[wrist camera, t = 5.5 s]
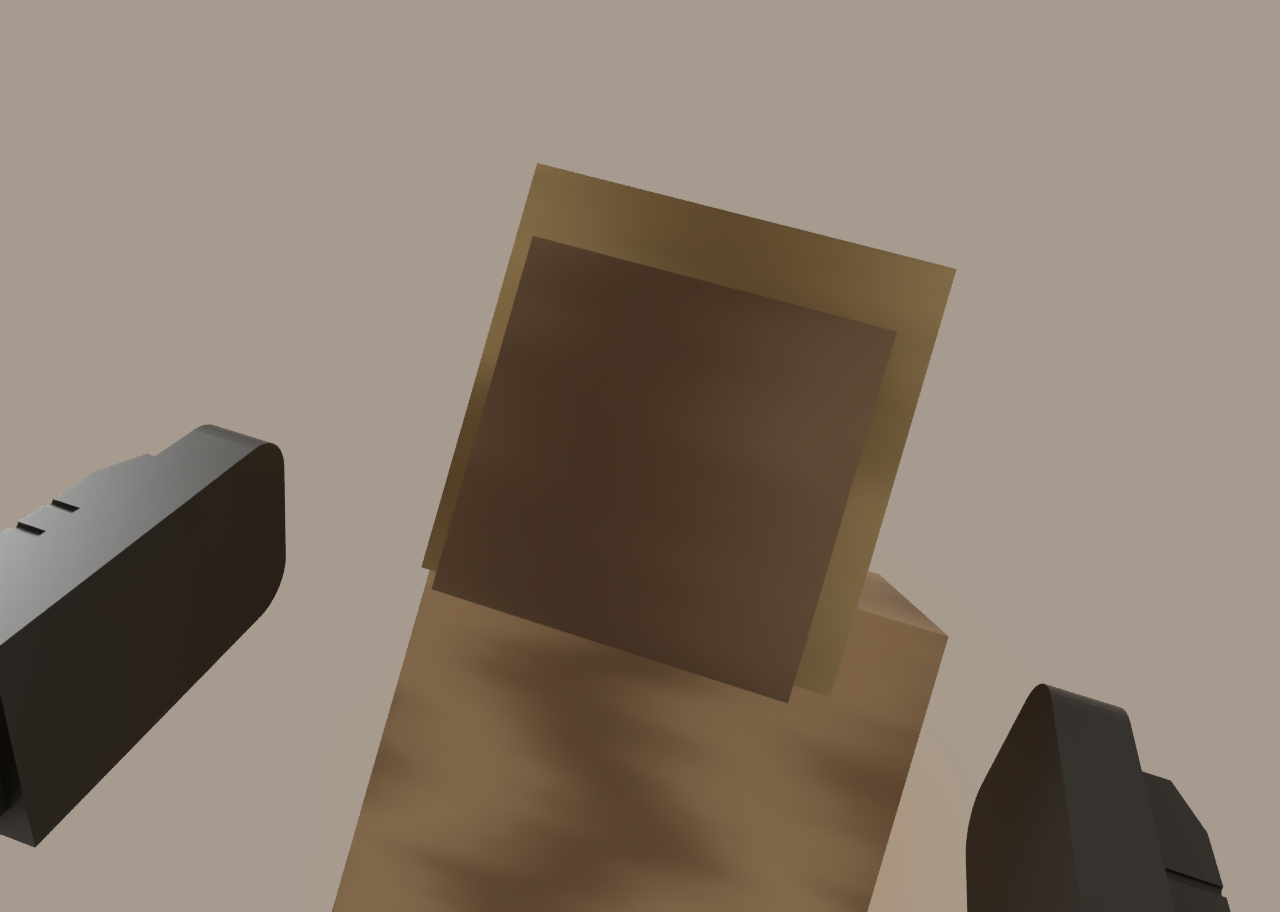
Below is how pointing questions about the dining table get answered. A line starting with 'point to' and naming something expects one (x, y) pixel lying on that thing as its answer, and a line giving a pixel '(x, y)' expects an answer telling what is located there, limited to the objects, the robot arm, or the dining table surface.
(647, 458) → the walnut bar
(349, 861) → the oak stand
